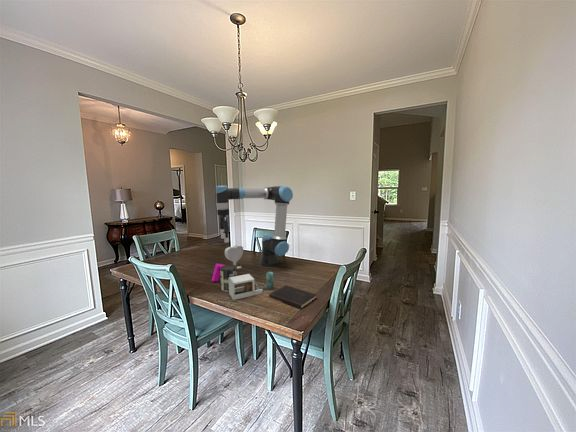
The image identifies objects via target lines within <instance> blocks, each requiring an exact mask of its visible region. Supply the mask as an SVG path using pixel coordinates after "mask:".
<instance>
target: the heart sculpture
mask: <svg viewBox="0 0 576 432" xmlns="http://www.w3.org/2000/svg"><path fill="white" fill-rule="evenodd" d="M243 253H244V247H243V246H242V245H237V244H236V245H233V246H228V247H226V248H225V250H224V256H225V258H226V259H227V260H229V261H231V262H232V265H236V266H237V270H238V269H241V268H242V266H241V265H240V266H238V265H237V262H239V260H241V258H242V256H243Z"/></svg>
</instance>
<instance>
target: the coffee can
mask: <svg viewBox="0 0 576 432" xmlns="http://www.w3.org/2000/svg"><path fill="white" fill-rule="evenodd" d="M224 265H225V266H222V267H221V268H220V270H221V275H220V276H221V282H220V285H221V287H220V288H221V291H222V292H226V293H229V281H228V278H229V277H234V276H237V275H238V269H237V266H238V265H237V264H236V265H233V264H224ZM238 287H239V286H238V284H235V285H234V288H238Z"/></svg>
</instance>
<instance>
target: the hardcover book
mask: <svg viewBox="0 0 576 432" xmlns="http://www.w3.org/2000/svg"><path fill="white" fill-rule="evenodd" d="M268 297H269V298H272V299H275V300H277V301H279V302H282V303H284V304H286V303H287V305H290V306H292V307H294V306H295V307H294V308H297V309H300V310H302V309H303V307H304V308H305V307H306V305H307V306H308V305H309V304H311V303H312V302H313V301H312V300H314V299H315V298H317V294H316V293H312V292H309V291H306V290H303V289H300V288H296V287H294V286H290V285H283V286H282V287H280V288H277V289H276V290H273V291H272V292H270V293H269V295H268ZM315 300H316V299H315ZM315 300H314V301H315ZM310 302H311V303H310Z"/></svg>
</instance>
